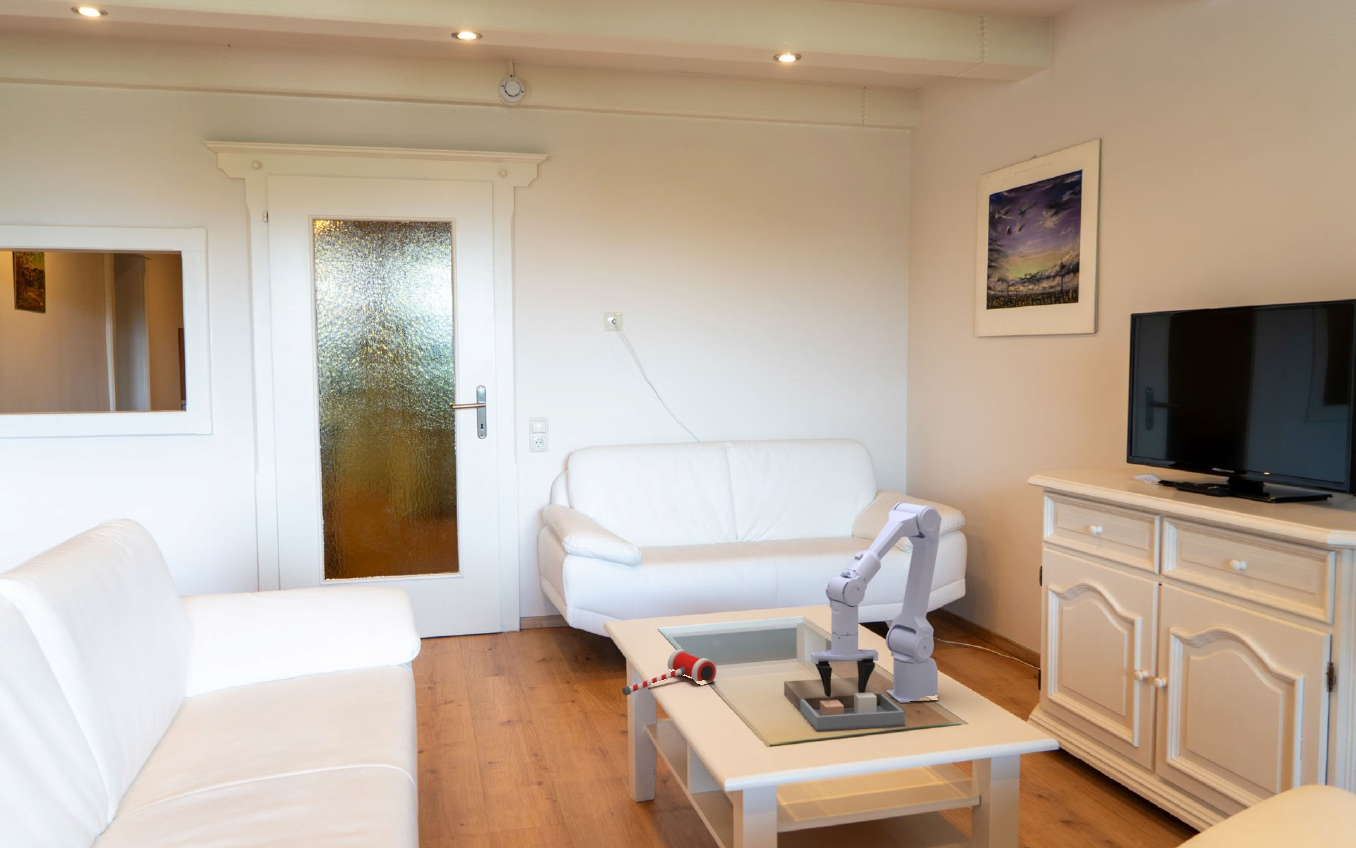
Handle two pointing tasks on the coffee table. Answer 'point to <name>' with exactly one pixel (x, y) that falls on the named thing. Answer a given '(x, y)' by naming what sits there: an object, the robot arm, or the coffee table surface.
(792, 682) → the dark wooden platform
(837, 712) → the terracotta pink block
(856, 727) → the box
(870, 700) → the tile cream
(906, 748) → the coffee table surface
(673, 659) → the toy hammer
